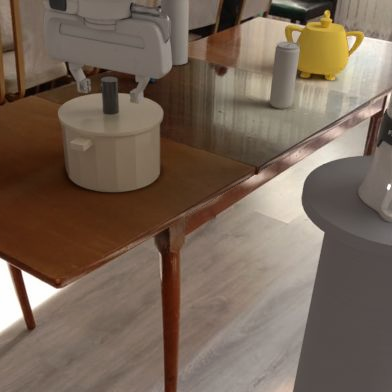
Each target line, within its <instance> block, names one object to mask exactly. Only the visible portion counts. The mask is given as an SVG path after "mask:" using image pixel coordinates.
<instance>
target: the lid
mask: <svg viewBox="0 0 392 392" xmlns="http://www.w3.org/2000/svg"><path fill="white" fill-rule="evenodd" d="M100 88H101V90H100V91H101V92H99V93H90V94H85V95H81V96H77V97H74V98H72V99H70V100H68V101H65V102H64V103H63V104H61V106H60V107H59V108H58V110H57V118H58V121H59V122H60V125H61V124H63V125H64V126H65V127H67V128H68V129H71V130H73V131H76V132H79V133H82V134H87V135H93V136H104V137H117V136H128V135H134V134H139V133H142V132H146V131H148V130H151V129H153V128H155V127H156V126H158V125H159V124H160V123H161V124H162V122H163V119H164V109H163V108H162V106H161V105H160V104H159V103H157V102H156V101H153V100H152V99H150V98H147V97H144V96H143V102H142V103H140V104H135V103H131V102H130V98H131V97H130V93H125V92H123V93H121V92H119V79H118V78H117V77H115V76H104V77H102V78H100Z"/></svg>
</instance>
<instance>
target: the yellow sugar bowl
mask: <svg viewBox="0 0 392 392" xmlns="http://www.w3.org/2000/svg"><path fill="white" fill-rule="evenodd" d="M330 17H331V11H330V10H329V9H327V10H325V11H324V12H323V17H321V18H320V21H310V22H308V23H306V25H305V26H304V27H301V26H297V25H294V24H288V25H286V26H285V28H284V37H285V39H286V41H289V42H294V40H293V32H299V33H300V34H299V36H298V38H297V40H296V42H295V43H297V44H299V45H300V47H299V49H300V52H299V59H298V66H297V71H298V70H299V71H300V72H301V73H300V74H299V76H300V77H301V78H304V79H309V78H311V76H312V74H315V75H324V79H325V80H326V81H335V80H336V78H335V75H339V74H341V73H342V72H343V71H344V69H345V68H346V67H347V65H348V63H349V57H351V55H353V54H354V52H356V50H358V48H359V47H360V46H361V45H362V43H363V41H364V39H365V33H364V32H363V31H359V30H352V31H346V30H345V27H344V25H342V24H339V23H334V22H333V19H332V18H330ZM348 37H354V38H355V41H354V43H353V45H352V46H351V48H350V49H349V46H350V45H349V41H348Z"/></svg>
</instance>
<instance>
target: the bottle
mask: <svg viewBox="0 0 392 392" xmlns="http://www.w3.org/2000/svg"><path fill="white" fill-rule="evenodd" d="M189 3H190V0H160V8H161V9H162V11H163V12H164V13H165V14H166V15H167V16H168V18H169V19H170V22H171V34H170V44H171V53H172V66H181V65H185V64H188V61H189V60H188V58H189V17H190V16H189V14H190V13H189V7H190V6H189V5H190V4H189ZM161 16H163V15H161ZM163 17H164V16H163Z"/></svg>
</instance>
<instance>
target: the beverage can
mask: <svg viewBox="0 0 392 392" xmlns="http://www.w3.org/2000/svg"><path fill="white" fill-rule="evenodd" d="M299 47H300V45H299V44H297V43H296V42H294V41H293V42H289V41H287V40H284V41H283V40H282V41H278V42H277V43H276V46H275V50H274V58H273V59H274V60H273V67H272V76H271V84H270V85H271V87H270V95H269V104H270V105H271V107H273V108H275V109H279V110H287V109H289V108H290V107H292V105H293V101H294V93H295V86H296V78H297V71H298V69H297V66H298V59H299V52H300V49H299Z"/></svg>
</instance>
